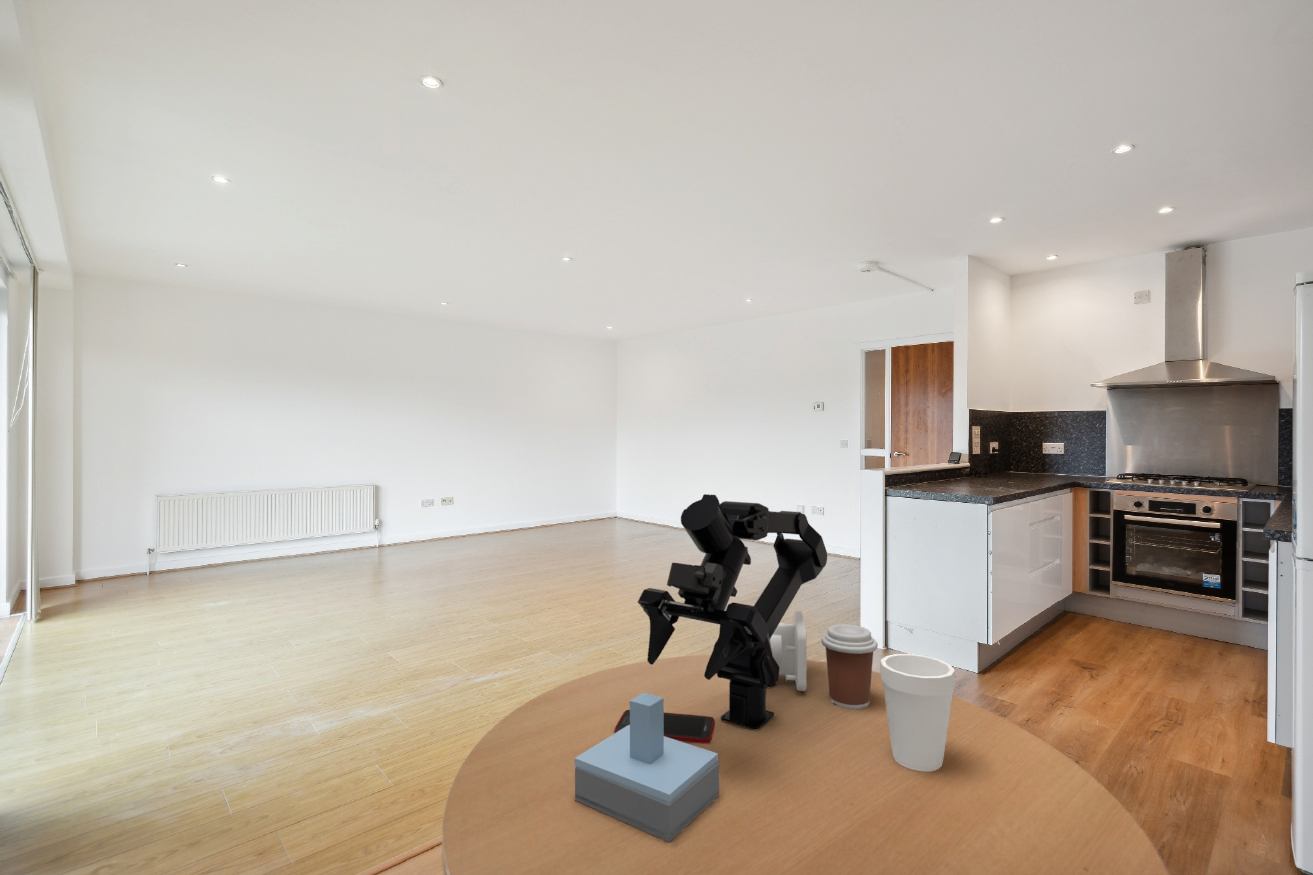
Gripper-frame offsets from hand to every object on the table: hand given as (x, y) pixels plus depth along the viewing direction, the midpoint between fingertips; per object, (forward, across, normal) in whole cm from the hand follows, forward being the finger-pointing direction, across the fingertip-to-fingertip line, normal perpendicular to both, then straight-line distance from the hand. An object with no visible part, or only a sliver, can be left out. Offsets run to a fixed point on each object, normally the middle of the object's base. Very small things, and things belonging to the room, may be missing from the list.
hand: (677, 670), depth 83 cm
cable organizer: (-15, -3, +36) cm, 39 cm away
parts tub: (+15, +1, +4) cm, 15 cm away
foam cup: (-6, +25, +26) cm, 36 cm away
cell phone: (+4, -9, +16) cm, 19 cm away
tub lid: (+12, 0, +1) cm, 12 cm away
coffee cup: (-15, +11, +35) cm, 40 cm away
